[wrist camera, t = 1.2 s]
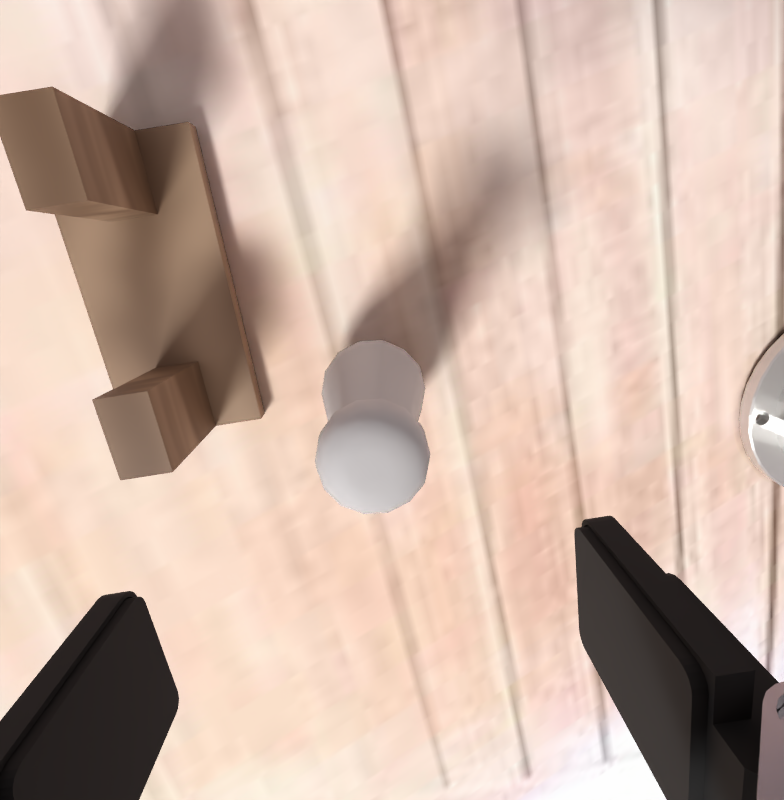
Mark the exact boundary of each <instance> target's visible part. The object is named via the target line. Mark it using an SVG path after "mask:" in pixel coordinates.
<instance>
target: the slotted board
mask: <svg viewBox="0 0 784 800" xmlns="http://www.w3.org/2000/svg"><path fill="white" fill-rule="evenodd" d="M0 137H1V140H2V143H3V145H4V148H5V151H6V154H7V157H8V160H9V163H10V166H11V168H12V171H13V174H14V177H15V180H16V183H17V186H18V188H19V191H20V194H21V197H22V200H23V203H24V206H25V209H26V210H28V211H35V212H42V213H50V214H55V216H56V219H57V222H58V225H59V228H60V231H61V234H62V237H63V240H64V243H65V246H66V249H67V252H68V255H69V258H70V261H71V264H72V267H73V270H74V273H75V276H76V279H77V282H78V285H79V288H80V291H81V294H82V297H83V300H84V303H85V306H86V309H87V312H88V315H89V318H90V321H91V324H92V327H93V330H94V333H95V336H96V339H97V342H98V345H99V348H100V351H101V354H102V357H103V360H104V363H105V366H106V369H107V372H108V375H109V378H110V381H111V384H112V387H113V390H111V391H109V392H107V393H105V394H103V395H101V396H99V397H97V398H95V399H93V400H92V401H93V403H94V406H95V409H96V412H97V415H98V418H99V421H100V423H101V426H102V429H103V432H104V435H105V438H106V441H107V444H108V446H109V449H110V452H111V455H112V458H113V461H114V464H115V466H116V469H117V472H118V475H119V478H120V480H125V479H132V478H138V477H145V476H151V475H157V474H164V473H170V472H173V471H174V470H175V469H176V468H177V467H178V466H179V465H180V464H181V463H182V461H183V460H184V459H185V458H186V457H187V456H188V455H189V454H190V453H191V452H192V451H193V450H194V449H195V448H196V446H197V445H198V444H199V443H200V442H201V441H202V440H203V439H204V438H205V437H206V436H207V435H208V434H209V433H210V431H211V430H212V429H213V428H214V427H215V426H217V425H223V424H230V423H236V422H242V421H249V420H255V419H261V418H262V417H263V415H264V414H265V413H264V409H263V404H262V400H261V396H260V392H259V388H258V384H257V380H256V375H255V371H254V367H253V363H252V359H251V355H250V351H249V347H248V342H247V338H246V334H245V330H244V326H243V322H242V318H241V313H240V309H239V305H238V301H237V297H236V293H235V289H234V285H233V280H232V276H231V272H230V268H229V264H228V260H227V256H226V251H225V247H224V243H223V239H222V235H221V231H220V227H219V223H218V218H217V214H216V210H215V206H214V202H213V198H212V194H211V189H210V185H209V181H208V177H207V173H206V169H205V165H204V161H203V156H202V152H201V148H200V144H199V140H198V136H197V132H196V127H195V126H193V125H192V124H191V123H189V122H185V123H178V124H172V125H166V126H160V127H154V128H147V129H141V130H133V129H131V128H129V127H127V126H125V125H123V124H121V123H120V122H118V121H116V120H114V119H112V118H110V117H108V116H106V115H105V114H103V113H101V112H99V111H97V110H95V109H93V108H91V107H89V106H88V105H86V104H84V103H82V102H80V101H78V100H76V99H74V98H73V97H71V96H69V95H67V94H65V93H63V92H61V91H59V90H58V89H56V88H54V87H47V88H41V89H35V90H29V91H22V92H16V93H10V94H4V95H0Z"/></svg>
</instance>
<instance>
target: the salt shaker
mask: <svg viewBox="0 0 784 800" xmlns="http://www.w3.org/2000/svg"><path fill="white" fill-rule="evenodd" d="M424 393H425V385H424V381H423V377H422V372H421V368H420V366H419V365H418V364H417V363H416V361H415V360H414V359H413V358H412V357H411V356H410V355H409V354H408V353H407V352H406V351H405V350H404V349H402V348H400V347H398V346H396V345H393V344H391V343H389V342H386V341H384V340H371V341H359V342H357V343H355V344H353V345H351V346H350V347H348V348H346V349H344V350H342V351H340V352H338V354H337V355H336V356H335V358H334V359H333V361H332V362H331V364H330V365H329V367H328V368H327V369H326V371H325V375H324V382H323V389H322V397H323V402H324V406H325V410H326V414H327V418H328V422H327V424H326V425H325V427H324V428H323V430H322V431H321V433H320V435H319V439H318V446H317V452H316V458H315V463H316V468H317V471H318V474H319V476H320V479H321V482H322V485H323V487H324V490H325V491H326V492H327V493H328V494H330V495H331V496H332V497H333V498H334V499H335V500H336V501H337V502H338V503H339V504H340V505H341V506H343V507H346V508H349V509H352V510H354V511H357V512H360V513H363V514H369V513H388V512H390V511H392V510H394V509H396V508H398V507H400V506H402V505H404V504H406V503H408V502H410V500H411V499H412V498H413V497H414V496H415V494H416V493H417V492H418V491H419V490H420V488H421V487H422V486H423V485H424V483H425V479H426V474H427V469H428V464H429V458H430V451H429V447H428V443H427V440H426V436H425V432H424V429H423V427H422V425H421V424H420V423H419V422H418V420H419V416H420V413H421V409H422V404H423V398H424Z"/></svg>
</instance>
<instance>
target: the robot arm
mask: <svg viewBox="0 0 784 800" xmlns="http://www.w3.org/2000/svg"><path fill="white" fill-rule="evenodd" d="M739 425H740V436H741V440H742V443H743V446H744V449H745V452H746V454H747V455H748V457H749V459H750V460H751V462H752V463H753V465H754V466H755V467H756V468H757V469H758V470H759V471H760V472H761V473H762V474H763V475H764V476H766V477H768V478H769V479H771V480H772V481H774V482H776V483H777V484H779V485H781V486H783V487H784V334H783V335H782V336H781V337H780V338H779V339H778V340H777V341H776V342H775V343H774V344H773V345H772V346H771V347H770V348H769V349H768V350H767V351H766V353H765V354H764V356H763V357H762V358H761V360H760V361H759V363H758V364H757V365H756V367H755V369H754V371H753V373H752V375H751V377H750V379H749V381H748V383H747V385H746V388H745V391H744V395H743V398H742V401H741V408H740V417H739ZM575 553H576V573H577V593H578V614H579V631H580V636H581V640H582V643H583V646H584V648H585V650H586V652H587V654H588V655H589V657H590V659H591V661H592V663H593V665H594V666H595V668H596V670H597V672H598V674H599V676H600V678H601V679H602V681H603V683H604V685H605V687H606V689H607V690H608V692H609V694H610V696H611V698H612V700H613V701H614V703H615V705H616V707H617V709H618V711H619V712H620V714H621V716H622V718H623V720H624V722H625V724H626V725H627V727H628V729H629V731H630V733H631V735H632V736H633V738H634V740H635V742H636V744H637V746H638V747H639V749H640V751H641V753H642V755H643V757H644V759H645V760H646V762H647V764H648V766H649V768H650V770H651V771H652V773H653V775H654V777H655V779H656V781H657V782H658V784H659V786H660V788H661V790H662V792H663V793H664V795H665V797H666V799H667V800H784V682H781V683H779V682H778V681H777V680H776V679H775V678H774V677H773V676H772V675H771V674H770V673H769V672H768V671H767V670H766V669H765V668H764V667H763V666H762V665H761V664H760V663H759V661H758V660H757V659H756V658H755V657H754V656H753V655H752V654H751V653H750V652H749V651H748V650H747V649H746V648H745V647H744V646H743V645H742V644H741V643H740V642H739V641H738V640H737V638H736V637H735V636H734V635H733V634H732V633H731V632H730V631H729V630H728V629H727V628H726V627H725V626H724V625H723V624H722V623H721V622H720V621H719V620H718V619H717V618H716V616H715V615H714V614H713V613H712V612H711V611H710V610H709V609H708V608H707V607H706V606H705V605H704V604H703V603H702V602H701V601H700V600H699V599H698V598H697V597H696V596H695V595H694V593H693V592H692V591H691V590H690V589H689V588H688V587H687V586H686V585H685V584H684V583H683V582H682V581H681V580H680V579H679V578H678V577H676V576H675V575H673V574H670V573H667V574H666V573H665V572H664V571H663V570H662V569H661V568H660V567H659V566H658V565H657V564H656V562H655V561H654V560H653V559H652V558H651V557H650V556H649V555H648V554H647V553H646V552H645V551H644V550H643V548H642V547H641V546H640V545H639V544H638V543H637V542H636V541H635V540H634V539H633V538H632V537H631V536H630V534H629V533H628V532H627V531H626V530H625V529H624V528H623V527H622V526H621V525H620V524H619V523H618V522H617V520H616V519H615V518H613V517H612V516H605V517H598V518H592V519H586V520H584V521H583V522H582V527H580V528H576V529H575ZM178 703H179V696H178V691H177V688H176V685H175V683H174V680H173V677H172V674H171V672H170V669H169V666H168V663H167V661H166V658H165V655H164V652H163V650H162V647H161V644H160V641H159V639H158V636H157V633H156V630H155V628H154V625H153V622H152V619H151V617H150V614H149V611H148V608H147V606H146V603H145V601H144V599H143V598H142V597H137V596H136V594H135V593H134V592H131V591H127V592H121V593H115V594H108V595H104V596H101V597H100V598H99V599H98V600H97V601H96V602H95V604H94V605H93V606H92V607H91V609H90V610H89V611H88V612H87V614H86V615H85V616H84V617H83V619H82V620H81V621H80V622H79V624H78V625H77V626H76V627H75V629H74V630H73V631H72V632H71V634H70V635H69V636H68V637H67V639H66V640H65V641H64V642H63V644H62V645H61V646H60V647H59V649H58V650H57V651H56V652H55V654H54V655H53V656H52V657H51V659H50V660H49V661H48V662H47V664H46V665H45V666H44V667H43V668H42V670H41V671H40V672H39V673H38V675H37V676H36V677H35V678H34V680H33V681H32V682H31V683H30V685H29V686H28V687H27V688H26V690H25V691H24V692H23V693H22V695H21V696H20V697H19V698H18V700H17V701H16V702H15V703H14V705H13V706H12V707H11V708H10V710H9V711H8V712H7V713H6V715H5V716H4V717H3V718H2V720H1V721H0V800H139V799H140V796H141V794H142V792H143V789H144V787H145V785H146V782H147V780H148V778H149V775H150V773H151V771H152V768H153V766H154V764H155V761H156V759H157V757H158V754H159V752H160V750H161V747H162V745H163V743H164V740H165V738H166V736H167V733H168V731H169V729H170V727H171V724H172V722H173V720H174V717H175V715H176V712H177V709H178Z"/></svg>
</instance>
